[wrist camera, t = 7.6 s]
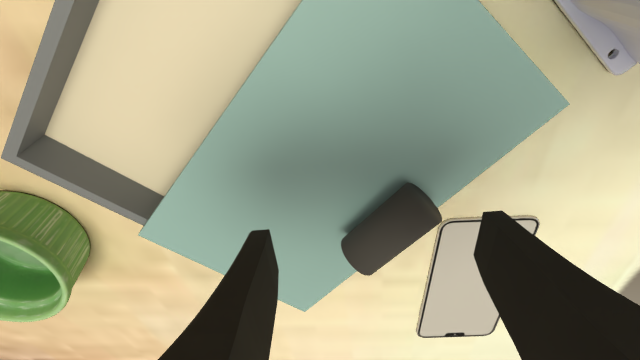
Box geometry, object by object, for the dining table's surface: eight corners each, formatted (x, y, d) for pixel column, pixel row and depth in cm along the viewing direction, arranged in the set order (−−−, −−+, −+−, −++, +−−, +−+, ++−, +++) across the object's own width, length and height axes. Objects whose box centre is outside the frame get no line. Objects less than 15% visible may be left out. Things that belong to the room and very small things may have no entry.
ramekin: (118, 270, 28) (90, 320, 25) (7, 275, 29) (-37, 325, 25) (66, 179, 23) (21, 224, 20) (-69, 185, 23) (-139, 232, 20)
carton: (430, -26, 17) (450, -19, 14) (217, 224, 25) (206, 255, 23) (198, -279, 12) (169, -331, 10) (36, 131, 21) (0, 157, 19)
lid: (562, 99, 17) (607, 129, 15) (304, 304, 26) (303, 346, 24) (377, -109, 12) (395, -119, 10) (142, 228, 22) (118, 269, 19)
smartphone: (544, 216, 25) (492, 336, 34) (539, 210, 26) (490, 329, 34) (440, 220, 25) (415, 338, 34) (437, 214, 26) (413, 332, 35)
